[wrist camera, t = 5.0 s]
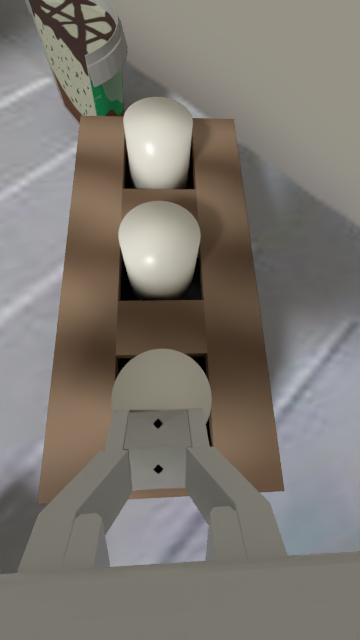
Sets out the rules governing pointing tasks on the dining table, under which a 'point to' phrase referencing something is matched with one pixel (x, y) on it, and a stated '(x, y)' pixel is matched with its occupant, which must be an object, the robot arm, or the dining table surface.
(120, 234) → the white rounded cylinder
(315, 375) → the dining table surface
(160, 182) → the white rounded cylinder
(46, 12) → the food container
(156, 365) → the white egg
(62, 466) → the wooden peg block
